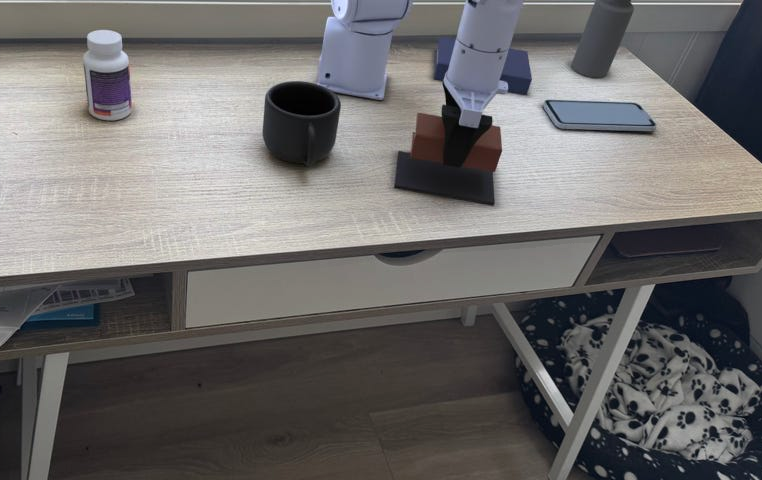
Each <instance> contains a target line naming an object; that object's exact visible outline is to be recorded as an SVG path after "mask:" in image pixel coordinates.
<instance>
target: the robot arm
mask: <svg viewBox="0 0 762 480" xmlns="http://www.w3.org/2000/svg"><path fill="white" fill-rule="evenodd" d="M524 2H525V0H465V2H464V7H463V11H462V13H461V18H460V22H459V24H458V25H459V26H458V29H457V33H456V38H455V39H456V41H455V45H454V49H453V53H452V57H451V61H450V64H449V68H448V71H447V72H446V73H445V76H444V77H443V81H442V87H443V91H444V99H445V104H442V105H441V112H440V114H441V115H440V116H441V117H442V121H443V124H444V129H445V141H444V150H443V164H444V165H447V166H453V167H458V168H460V167H461V166H462V165H463V163H464V162H465V160H466V158H467V156H468V155H469V153H470V151H471V149H472V148H473V146H474V144H475V143H476V142H477V140H478V139H479V138H480V137H481V136H482V135H483V134H484V133H485V132H486V131H488V130H489V129H490V127H491V125H493V121H494V120H493V115H488V114H483V113H484V110H485V109H486V108H487V107H488V105H489V104H490V103H491V101H492V100H493V99H494V98H495V97H496V95H502V96H503V95H507V94H508V92H507V91H508V84H507V82H505V81H500V77H501V73H502V70H503V67H504V64H505V60H506V57H507V54H508V50H509V48H510V47H511V45H512V40H513V37H514V34H515V31H516V28H517V24H518V21H519V18H520V14H521V11H522V9H523V5H524ZM330 4H331V10H332V13H333V14H334V15H333V16H328V17H327V20H326V24H325V29H324V34H323V40H322V48H321V54H320V57H319V61H318V77H317V78H318V79H317V84H318V85H321V86H324V87H326V88H328V89H329V90H331V91H332V92H334V93H336V94H343V95H349V96H354V97H360V98H366V99H372V100H378V101H382V100H384V97H385V91H386V85H387V79H388V73H386V72H387V71H386V70H387V67H388V66H387V64H388V61H389V55H390V50H391V45H392V40H393V34H394V30H396V29H399V28H400V22H401V21H404V20H405V19H406V18H407V17H408V16H409V14H410V12H411V11H412V7H413V4H414V0H330Z"/></svg>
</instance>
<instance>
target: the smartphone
mask: <svg viewBox="0 0 762 480" xmlns="http://www.w3.org/2000/svg"><path fill="white" fill-rule="evenodd" d="M542 107H543V109H544V110H545V112H546V114H547V115H548V117H549V118H550V120H551V121H552V123H553V124H554V126H555V127H557V128H559V129H564V130H596V131H597V130H598V131H629V132H654V131H656V130H657V127H658V124H657V122H656V121H654V119H653V118H652V117H651V115H650V114H649V113H648V112H647V111H646V110H645V108H643V106H642V105H641V104H639V103H637V102H634V101H607V100H605V101H603V100H576V99H575V100H574V99H573V100H572V99H544V100H543V103H542Z"/></svg>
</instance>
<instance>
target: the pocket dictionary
mask: <svg viewBox="0 0 762 480" xmlns="http://www.w3.org/2000/svg"><path fill="white" fill-rule="evenodd" d="M501 132H502V130H501V126H498V125H493V124H492V125H491V127H490V129H489V130H488V131H486V132H485V133H484V134H483V135H482V136H481V137H480V138H479V139H478V140H477V142H476V143H475V144H474V146H473V148H472V149H471V151H470V153H469V155H468V156H467V158H466V160H465V162H464V163H463V165H462V166H461V167H467V168H473V169H478V170H484V171H490V172H493V173H496V171H497V168H498V165H499V161H500V159H501V155H502V152H503V143H502V133H501ZM411 135H412V136H411V146H410V153H411V155H410V158H416V159H422V160H427V161H433V162H439V163H443V150H444V141H445V129H444V124H443V121H442V115H436V114H435V115H434V114H428V113H424V112H417V113H416V123H415V131H412V134H411Z"/></svg>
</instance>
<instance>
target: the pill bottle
mask: <svg viewBox="0 0 762 480" xmlns="http://www.w3.org/2000/svg"><path fill="white" fill-rule="evenodd" d="M86 43H87V45H86V46H87V49H88V50H87V51H86V52H85V53H84V54H83V58H82V65H83V74H84V82H85V91H86V101H87V108H88V112H89V113H90V115H91V116H92V117H94V118H96V119H99V120H103V121H117V120H121V119H125V118H126V117H128V116H129V115H130V114H131V113H132V110H133V103H132V89H131V88H132V87H131V73H130V71H131V70H130V59H129V56H128V54H127V53H126V52H124V51H123V38H122V35H121V34H120V33H118V32H117V31H114V30H109V29H98V30H94V31H91V32H89V33H88V34H87V36H86Z"/></svg>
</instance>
